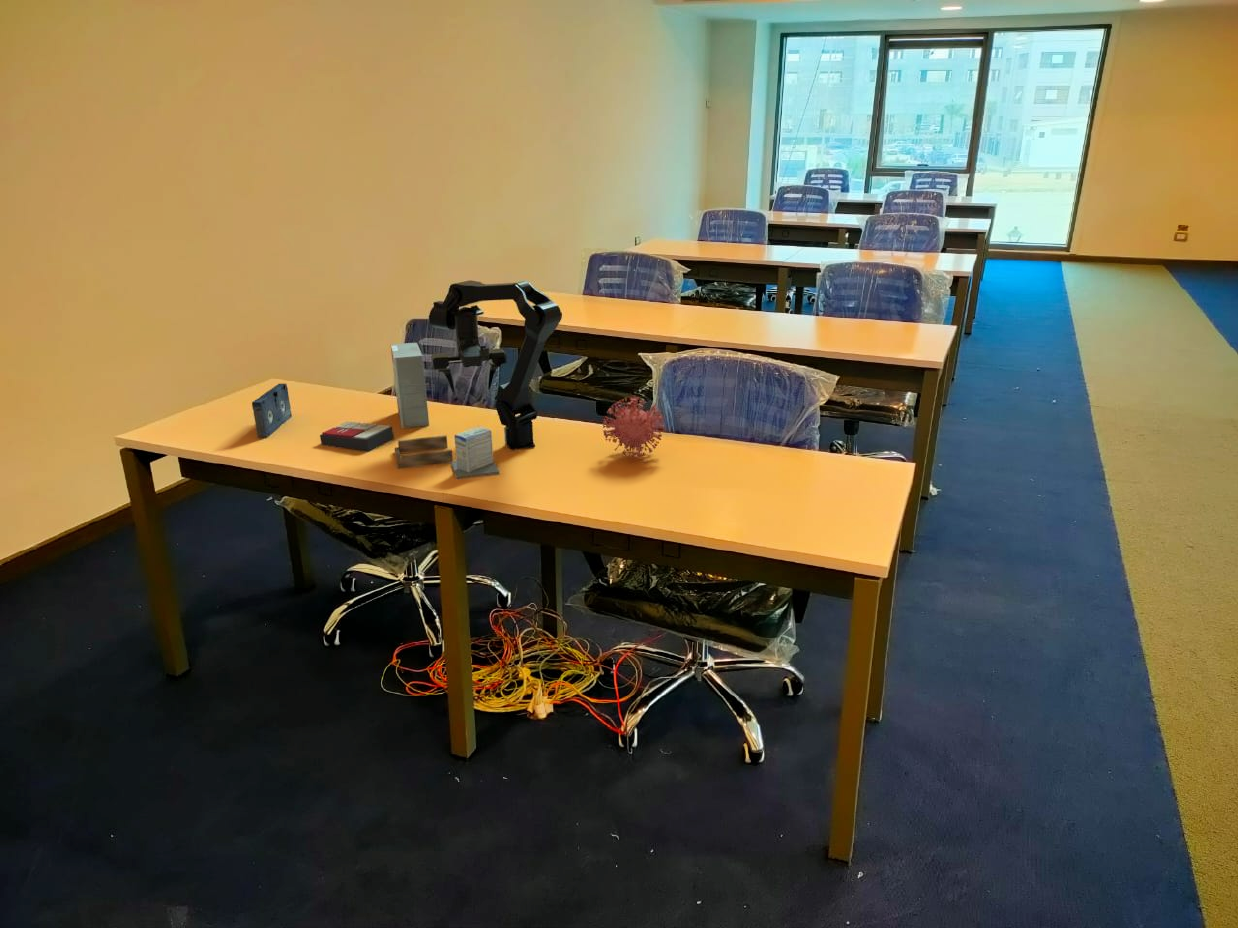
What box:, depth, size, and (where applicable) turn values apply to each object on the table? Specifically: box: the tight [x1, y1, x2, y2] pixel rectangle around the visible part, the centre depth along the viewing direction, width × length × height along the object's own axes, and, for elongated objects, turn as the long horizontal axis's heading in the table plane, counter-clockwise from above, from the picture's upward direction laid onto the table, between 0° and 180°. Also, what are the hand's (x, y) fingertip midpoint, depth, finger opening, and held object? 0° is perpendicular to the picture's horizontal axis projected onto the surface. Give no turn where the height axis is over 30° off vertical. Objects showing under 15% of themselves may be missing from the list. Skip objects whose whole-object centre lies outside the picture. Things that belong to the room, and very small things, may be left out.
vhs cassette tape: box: [251, 383, 293, 439], centre depth 234 cm, size 18×3×10 cm, turn 178°
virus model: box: [602, 396, 665, 459], centre depth 209 cm, size 15×15×15 cm
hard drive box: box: [389, 342, 430, 429], centre depth 237 cm, size 16×8×20 cm, turn 17°
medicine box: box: [454, 426, 494, 473], centre depth 203 cm, size 8×4×9 cm, turn 141°
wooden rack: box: [394, 434, 454, 469], centre depth 212 cm, size 13×12×3 cm
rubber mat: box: [450, 458, 500, 480], centre depth 205 cm, size 10×10×1 cm
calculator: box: [319, 421, 395, 453], centre depth 223 cm, size 11×4×15 cm
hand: (471, 391), depth 224 cm, fingers open, 9 cm apart
